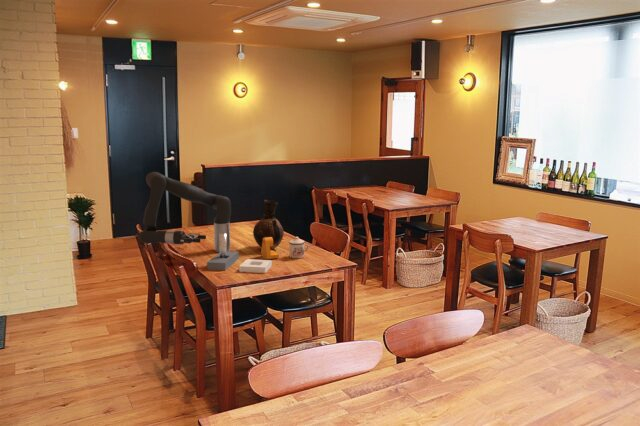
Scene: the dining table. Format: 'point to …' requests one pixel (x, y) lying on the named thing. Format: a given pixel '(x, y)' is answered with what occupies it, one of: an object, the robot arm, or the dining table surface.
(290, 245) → the teacup with lid
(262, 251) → the bracket
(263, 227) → the ceramic vessel
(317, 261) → the dining table surface
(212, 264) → the gray rectangular block
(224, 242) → the axle
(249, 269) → the cradle
